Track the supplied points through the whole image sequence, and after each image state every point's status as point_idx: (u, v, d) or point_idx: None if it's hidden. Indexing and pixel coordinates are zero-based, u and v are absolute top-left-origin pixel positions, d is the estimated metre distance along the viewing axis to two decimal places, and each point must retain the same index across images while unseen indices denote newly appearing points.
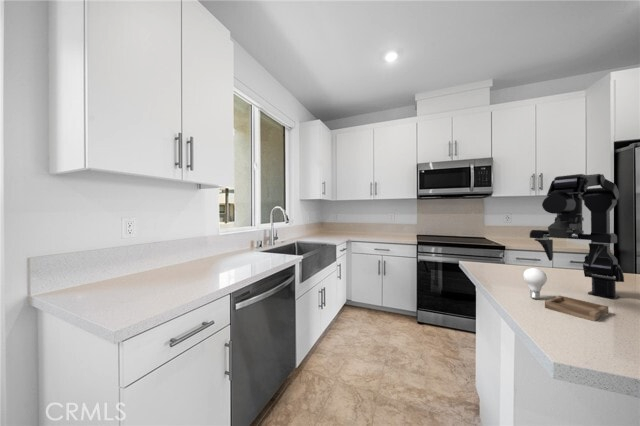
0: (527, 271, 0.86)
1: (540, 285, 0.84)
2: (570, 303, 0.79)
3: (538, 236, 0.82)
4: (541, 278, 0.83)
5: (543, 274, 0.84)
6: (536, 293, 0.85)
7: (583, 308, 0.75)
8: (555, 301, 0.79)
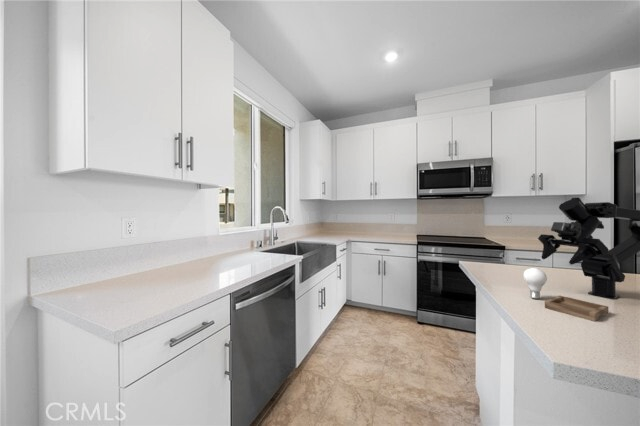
0: (527, 271, 0.86)
1: (540, 285, 0.84)
2: (570, 303, 0.79)
3: (544, 237, 0.94)
4: (541, 278, 0.83)
5: (543, 274, 0.84)
6: (536, 293, 0.85)
7: (583, 308, 0.75)
8: (555, 301, 0.79)
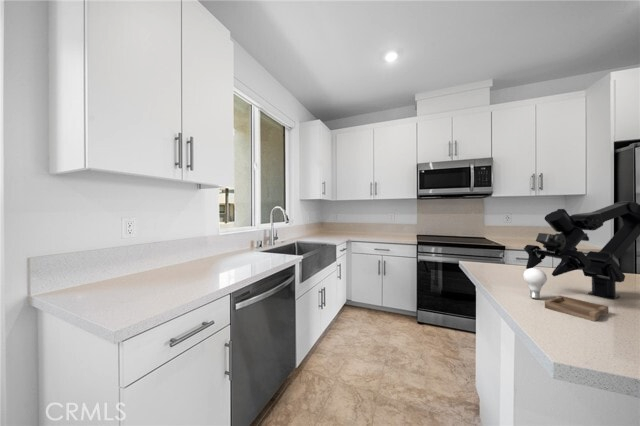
0: (527, 271, 0.86)
1: (540, 285, 0.84)
2: (570, 303, 0.79)
3: (530, 247, 0.93)
4: (541, 278, 0.83)
5: (543, 274, 0.84)
6: (536, 293, 0.85)
7: (583, 308, 0.75)
8: (555, 301, 0.79)
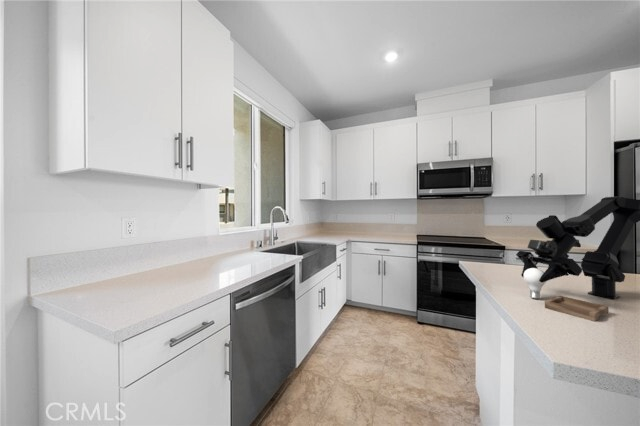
0: (527, 271, 0.86)
1: (540, 285, 0.84)
2: (570, 303, 0.79)
3: (522, 253, 0.93)
4: None
5: None
6: (536, 293, 0.85)
7: (583, 308, 0.75)
8: (555, 301, 0.79)
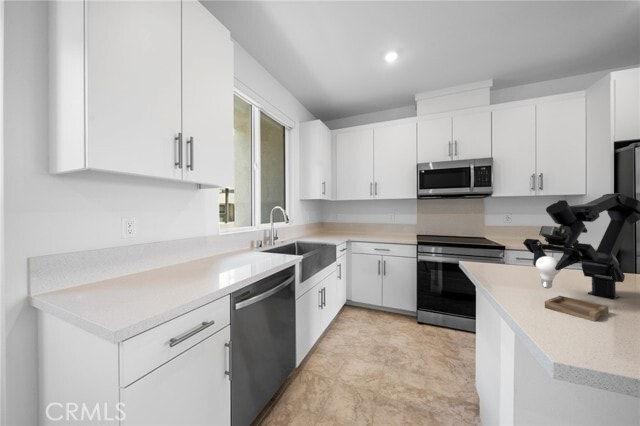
0: (542, 260, 0.82)
1: (554, 274, 0.80)
2: (570, 303, 0.79)
3: (530, 241, 0.89)
4: None
5: None
6: (549, 282, 0.81)
7: (583, 308, 0.75)
8: (555, 301, 0.79)
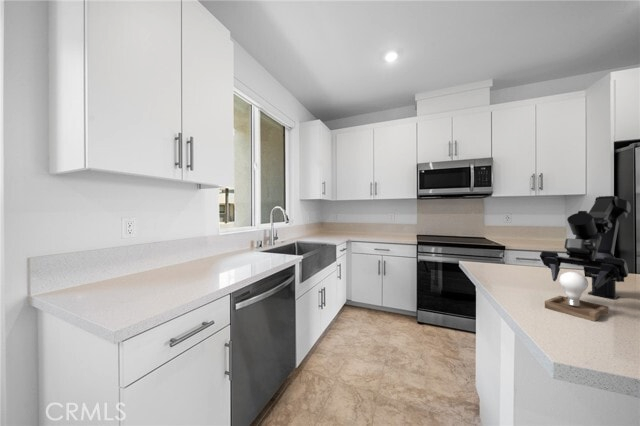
0: (568, 276, 0.75)
1: (583, 291, 0.74)
2: None
3: (549, 254, 0.82)
4: (586, 283, 0.73)
5: None
6: (577, 300, 0.75)
7: (583, 308, 0.75)
8: (555, 301, 0.79)
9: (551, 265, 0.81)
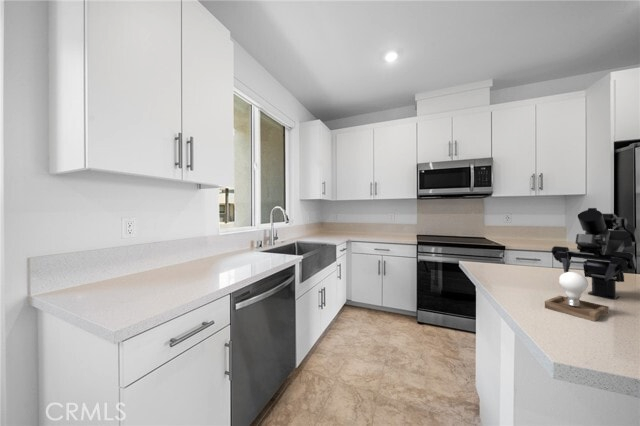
0: (568, 276, 0.75)
1: (583, 291, 0.74)
2: None
3: (561, 249, 0.87)
4: (586, 283, 0.73)
5: (585, 278, 0.74)
6: (577, 301, 0.75)
7: (583, 308, 0.75)
8: (555, 301, 0.79)
9: (562, 259, 0.86)
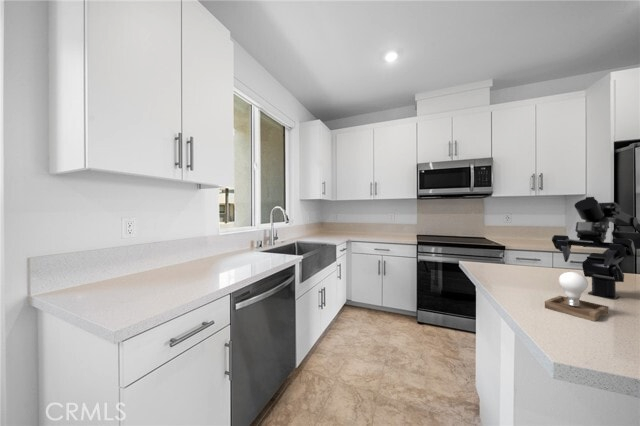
0: (568, 276, 0.75)
1: (583, 291, 0.74)
2: None
3: (561, 237, 0.89)
4: (586, 283, 0.73)
5: (585, 278, 0.74)
6: (577, 301, 0.75)
7: (583, 308, 0.75)
8: (555, 301, 0.79)
9: (562, 247, 0.87)
